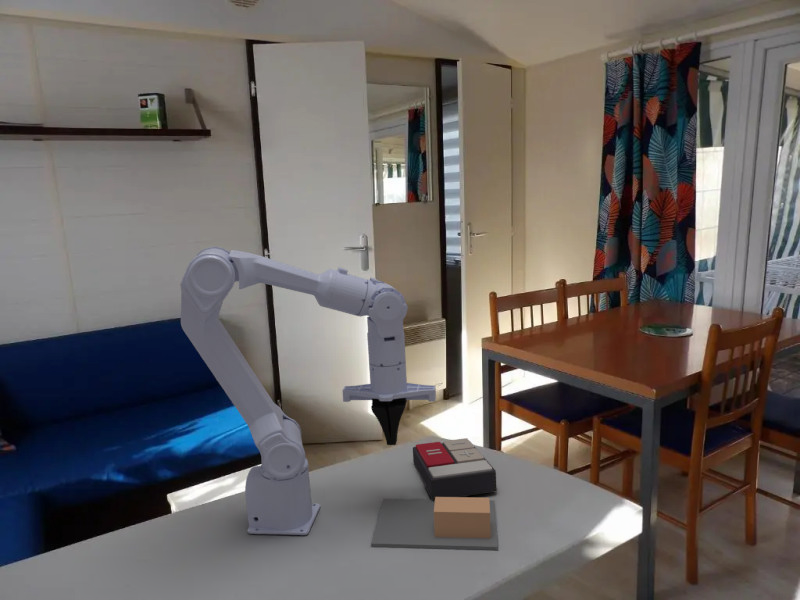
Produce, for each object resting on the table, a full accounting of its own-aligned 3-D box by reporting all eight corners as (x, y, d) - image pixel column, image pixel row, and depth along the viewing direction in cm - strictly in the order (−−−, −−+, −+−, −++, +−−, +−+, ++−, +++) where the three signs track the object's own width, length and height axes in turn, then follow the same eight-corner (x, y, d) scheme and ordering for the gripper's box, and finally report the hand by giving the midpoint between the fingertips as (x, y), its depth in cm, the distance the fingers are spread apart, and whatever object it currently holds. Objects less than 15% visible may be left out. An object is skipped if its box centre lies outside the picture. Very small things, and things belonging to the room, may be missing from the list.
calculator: (468, 435, 109) (496, 466, 94) (469, 457, 109) (497, 491, 95) (411, 442, 107) (430, 475, 92) (413, 465, 107) (432, 501, 93)
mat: (371, 546, 83) (371, 543, 83) (383, 501, 95) (383, 498, 95) (498, 550, 81) (497, 546, 81) (494, 503, 92) (494, 500, 92)
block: (433, 511, 83) (490, 512, 82) (435, 496, 87) (489, 497, 86) (434, 536, 84) (490, 538, 83) (436, 520, 88) (489, 522, 87)
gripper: (335, 369, 87) (342, 453, 89) (432, 368, 85) (435, 454, 88) (345, 355, 94) (351, 434, 96) (435, 354, 92) (438, 434, 94)
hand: (392, 442), depth 92 cm, fingers closed
